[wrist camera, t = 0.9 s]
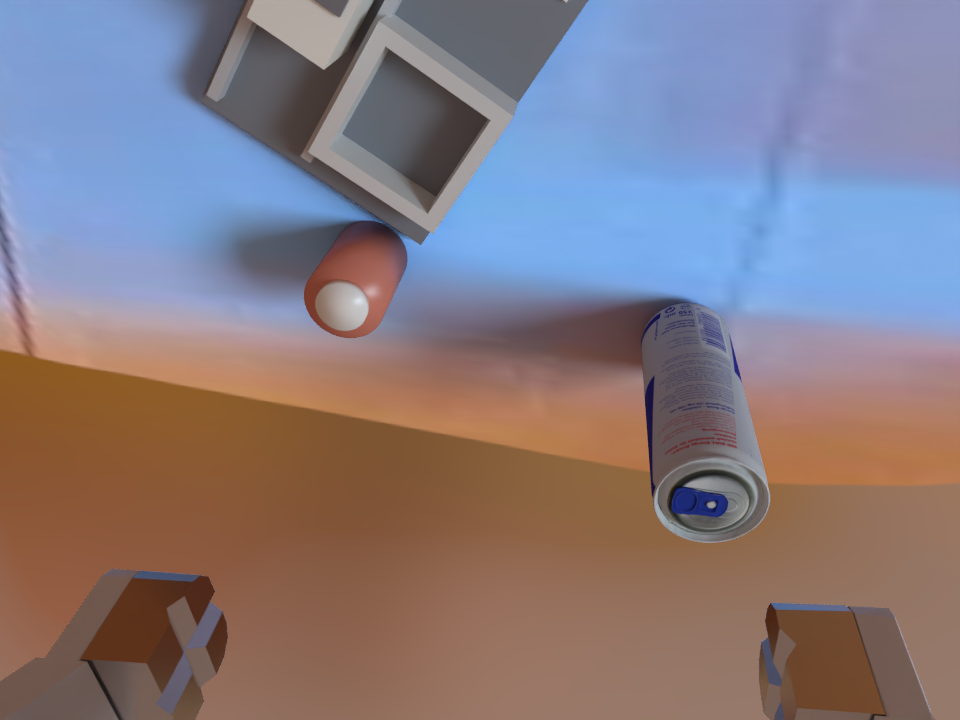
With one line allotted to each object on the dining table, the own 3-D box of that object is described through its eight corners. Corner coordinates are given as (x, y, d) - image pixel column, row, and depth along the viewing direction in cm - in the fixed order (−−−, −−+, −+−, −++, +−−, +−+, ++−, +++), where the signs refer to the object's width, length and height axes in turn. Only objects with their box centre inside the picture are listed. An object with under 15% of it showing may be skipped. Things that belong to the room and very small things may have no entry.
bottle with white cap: (356, 206, 46) (323, 254, 41) (420, 248, 47) (396, 301, 42) (323, 261, 48) (287, 314, 43) (385, 300, 49) (357, 357, 44)
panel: (385, -302, 34) (363, -317, 30) (647, -90, 36) (651, -85, 33) (209, 95, 44) (179, 114, 41) (424, 236, 47) (412, 264, 44)
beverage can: (634, 364, 49) (644, 539, 37) (647, 291, 47) (664, 454, 34) (717, 373, 49) (756, 554, 37) (736, 301, 46) (785, 469, 34)
